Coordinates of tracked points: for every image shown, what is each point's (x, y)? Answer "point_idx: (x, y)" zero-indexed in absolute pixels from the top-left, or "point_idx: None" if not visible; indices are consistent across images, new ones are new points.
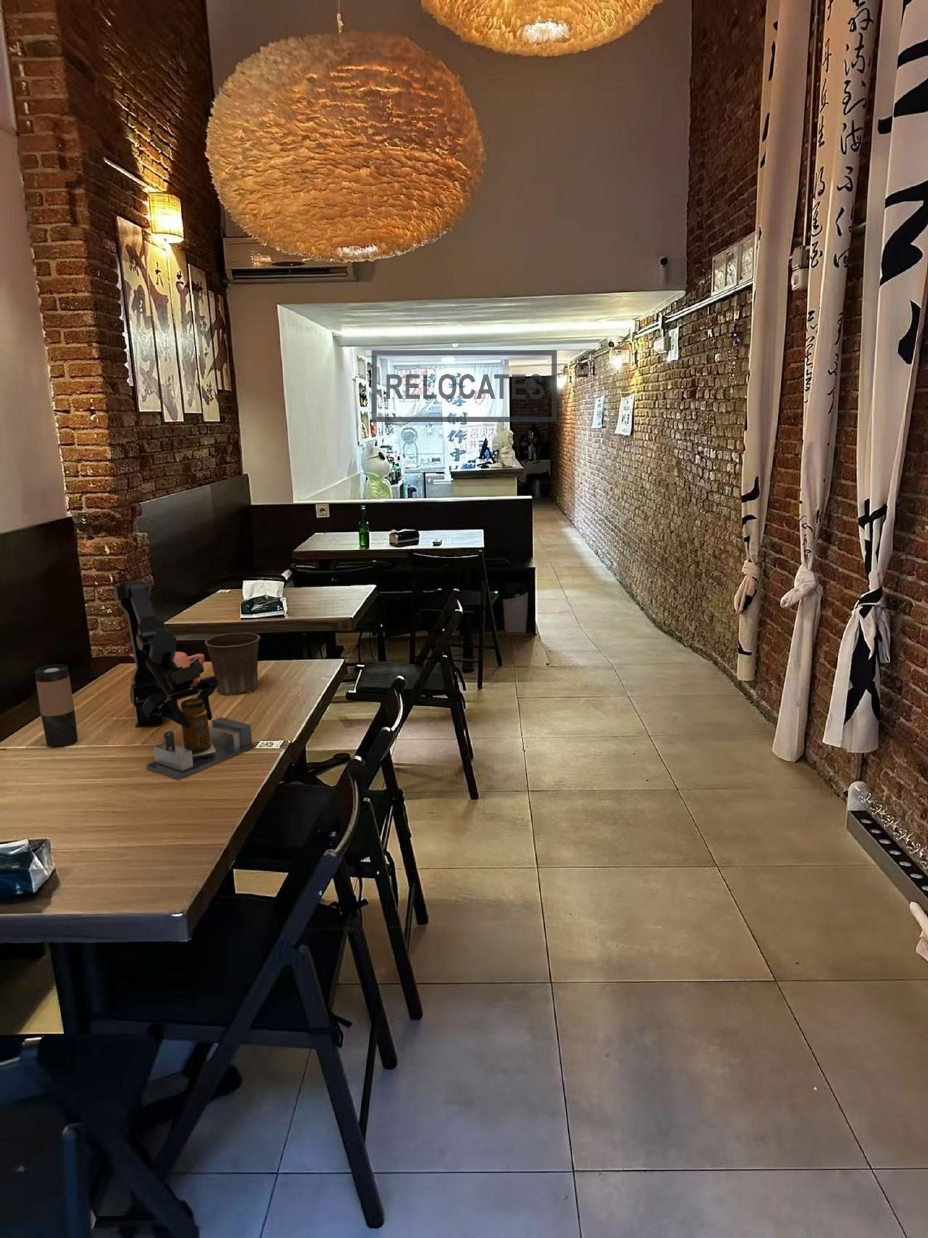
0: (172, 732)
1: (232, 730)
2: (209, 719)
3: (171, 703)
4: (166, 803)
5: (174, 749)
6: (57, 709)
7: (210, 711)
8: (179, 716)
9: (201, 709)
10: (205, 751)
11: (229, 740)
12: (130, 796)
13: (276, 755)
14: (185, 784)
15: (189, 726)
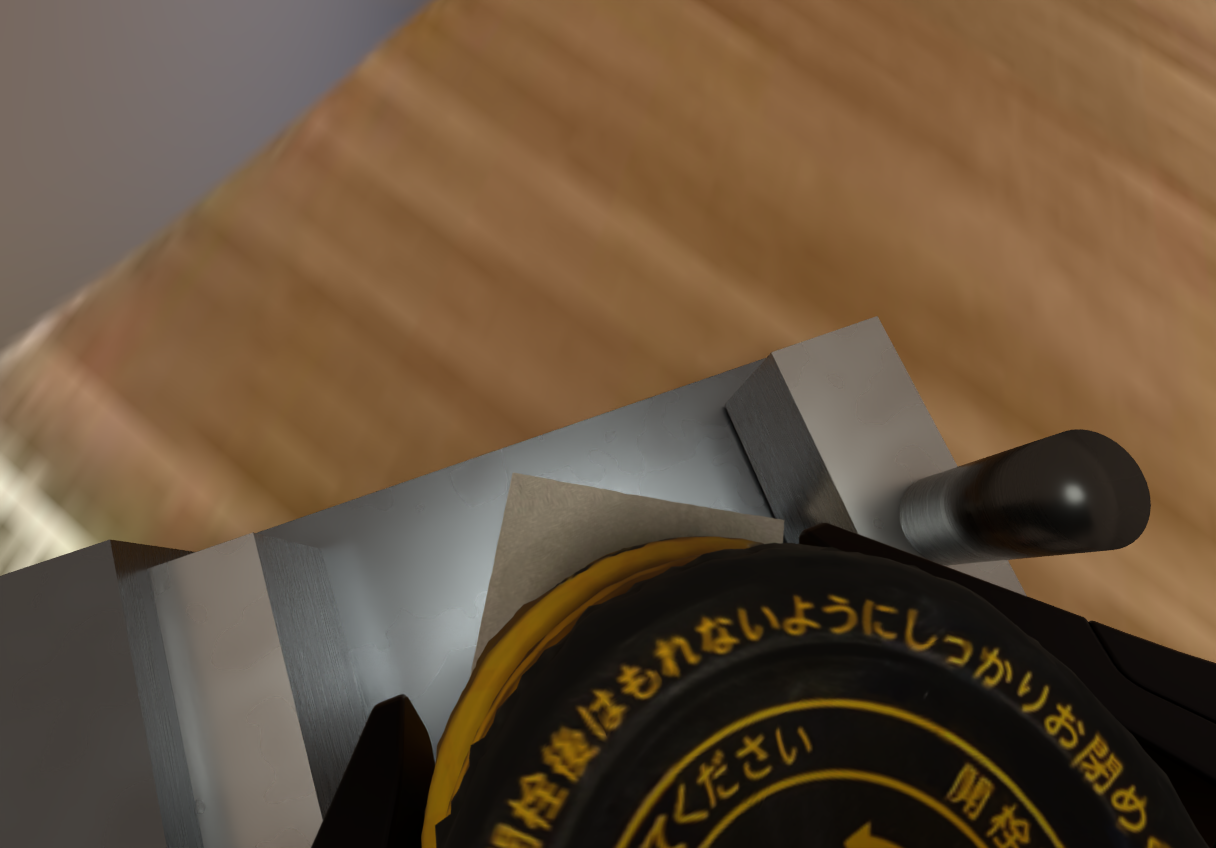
0: (1045, 474)
1: (183, 690)
2: (424, 735)
3: None
4: (930, 107)
5: (908, 486)
6: None
7: (331, 823)
8: (1071, 620)
9: (604, 589)
10: (584, 550)
11: (305, 611)
12: (1106, 306)
13: (98, 311)
14: (802, 260)
15: (810, 529)
